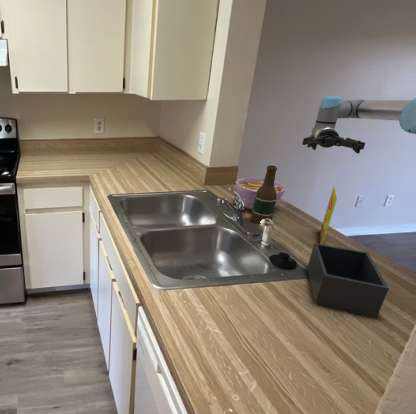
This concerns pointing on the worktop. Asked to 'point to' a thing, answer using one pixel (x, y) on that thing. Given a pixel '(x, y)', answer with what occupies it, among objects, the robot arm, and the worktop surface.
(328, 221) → the food package
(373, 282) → the storage bin
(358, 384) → the worktop surface
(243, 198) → the bowl of food
